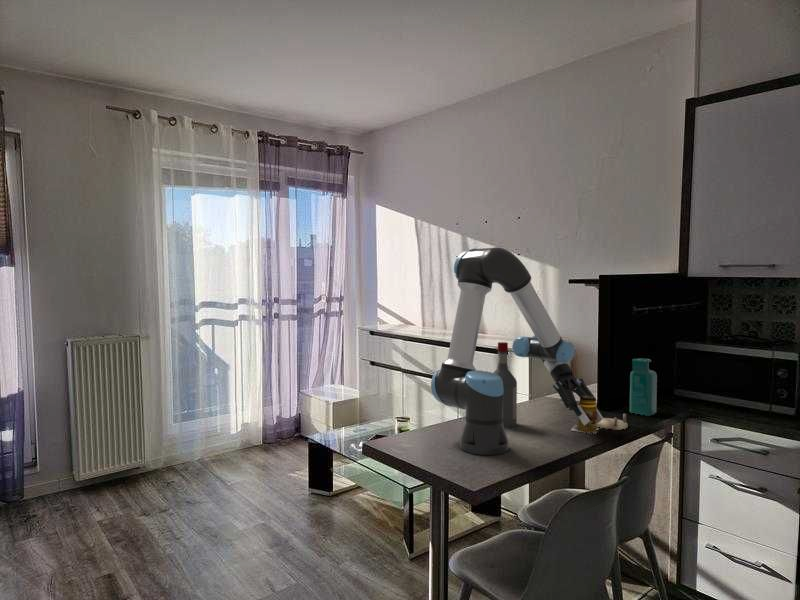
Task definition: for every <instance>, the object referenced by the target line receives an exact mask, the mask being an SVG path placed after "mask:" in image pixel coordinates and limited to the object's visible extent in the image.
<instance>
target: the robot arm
mask: <svg viewBox="0 0 800 600" xmlns="http://www.w3.org/2000/svg"><path fill="white" fill-rule="evenodd" d="M453 273H454V276H455V278H456V280H457V287H459V289H460V292H459V293H460V294H459V298H458V302H457V307H456V313H455V319H454V323H453V329H452V332H451V333H452V334H451V339H450V344H449V349H448V355H447V358H446V360H444V361H442V362H441V365H440V366H441V367H440V368H439V369H438V370H436V372H435V373H433V375H432V377H431V382H430V390H431V393H432V395H433V397H434V398H435V400H436V401H438V403H441V404H443V405H445V406H448V407H453V408H457V409H460V410H464V411H465V423H464V426H463V429H462V432H461V435H460V438H459V448H460V449H461V450H462V451H464V452H466V453H469V454H472V455H480V456H481V455H482V456H496V455H501V454H505V453H507V452H508V451H509V446H510V445H509V439H508V437H507V434H506V430H505V427H504V426H503V399H504V388H503V380H502V378H501V377H500V376H499V375H497V374H494V372H491V371H484V370H480V369H479V370H478V369H476V367H475V366H474V364H473V362H474V360H475V358H474V357H475V354H476V353H475V352H476V347H477V343H478V337H479V331H480V326H481V321H482V317H483V316H482V315H483V310H484V307H485V306H484V305H485V302H486V301H485V300H486V295H488V293H490V292H492V288H493V284H495V283H496V284H499V286H501V287H502V288H503V290H504V292H506V293H508V294H510V296H511V297H512V299H513V300H514V302H515V304H516V306H517V308H518V309H519V311H520V313H521V314H522V316H523V318H524V319H525V321H526V323H527V324H528V327H529V328H530V329H531V332H532V333H533V334H534V335H533V336H531V337H530V336H518V337H516V338H515V339H513V342H512V346H511V348H512V349H511V350H512V352H513V353H514V355H515V356H516V357H518V358H519V357H520V358H524V359H525V358H530V359H538V360H540V361H541V362H542V364H543V365H544V367H545V368H546V370H547V371H548V373H550V374H549V375H550V376H551V377H552V379H553V381H554V384H553V385H552V387H553V388H554V389H555V390H556V392H557V394H558V395H559V397H560V399H561V401H562V403H563V404H564V406H565V407H566V409H569V410H570V411H573V412H574V413H575V415H576V416H577V418H578V417H579V418H580V420H581V421H582V423H583V425H586V424H587V423H588V422H590V420H589V419H588V417H587V415H586V414H585V412H584V411H583V409H582V408H581V406H580V405H579V404H578V402H577V400H576V397H575V394H576V395H577V396H578V397H579V398H580V396H582V395H589V396H594V394H593V393H592V391H591V390H590V389H589V387H588V386H587V385H586V384H585V383H586V382H585V381H584V379H583V378H579V379H577V378H576V377H575V376H574V374H573V373H574V371H573V369H572V368H571V367H570V365H569V362H571V361H572V360H573V359H574V357H575V345H574V344H573V342H571V341H568V340H566V339H565V340H563V337H562V336H561V335H560V332H559V330H558V328H557V326H556V325H555V323H554V322H553V320H552V319H551V316H550V314H549V313H548V311H547V308H545V305H544V304H543V302H542V300H541V299H540V297H539V294H538V293H537V291H536V289H535V288H534V286H533V284H532V282H531V281H532V276H531V274H530V271H528V269H527V267H526V265H524V263H523V262H522V261H521V260H520V259H519V258H518V257H517V255H515V253H512V252H511V251H509V250H508V249H505V248H503V247H498V246H497V247H496V246H495V247H487V248H471V249H468V250H467V249H466V250H464V251H462V252H461V253H459V255H458V256H457V258H456V259H455V261H454V265H453ZM594 397H595V396H594ZM603 418H604V417H603V416H602V414H601V413H600V411H599V409H598V408H597V423H599V422H600V421H601V420H602V419H603Z"/></svg>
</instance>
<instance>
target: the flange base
mask: <svg viewBox="0 0 800 600" xmlns="http://www.w3.org/2000/svg"><path fill="white" fill-rule="evenodd" d="M596 422H597V421H596ZM596 426H597V427H596V428H598V427H600V428H599V429H602V428H605V429H604V430H608V429H612V430H611V431H621V430H622V429H624V430H627V429H628V428H629V427H628V426H629V424H628V422H627V413H623V414H622V419H619V418H618V417H615V416H614V418H610V417H603V419H602V420H601V421H600V422H599V423H596ZM626 428H627V429H626Z"/></svg>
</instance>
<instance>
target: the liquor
mask: <svg viewBox="0 0 800 600" xmlns="http://www.w3.org/2000/svg"><path fill="white" fill-rule="evenodd" d="M508 352H509V345H508V342H507V341H505V342H502V341H500V342H497V367H496V369H495V370H494V371H493V373H494V374H497V375H499V376H500V377H501V378H502V380H503V388H504V399H503V426H504V428H514V427H516V425H517V419H518V418H517V413H518V412H517V410H518V409H517V408H518V407H517V406H518V405H517V403H518V401H517V399H518V395H517V394H518V392H517V389H518V382H517V379H516V377H515V375H513V374H512V373H511V370H509V366H508Z"/></svg>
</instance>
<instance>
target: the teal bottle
mask: <svg viewBox="0 0 800 600" xmlns="http://www.w3.org/2000/svg"><path fill="white" fill-rule="evenodd" d="M631 361H632V362H631V363H632V365H631V366H632V371H630V374H629V413H630V412H631V413H630V414H632V413H635V414H634V415H637V414H640V415H639V416H643V415H645V416H644V417H651V415H652V416H654V415H656V414H655V413H657V399H658V398H657V396H658V395H657V392H658V390H657V389H658V385H657V383H658V374H657V372H656V371H654V370H651V369H650V368H649V367H650V364H649V363H650V362H652V360H651V359H649V358H632V360H631Z"/></svg>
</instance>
